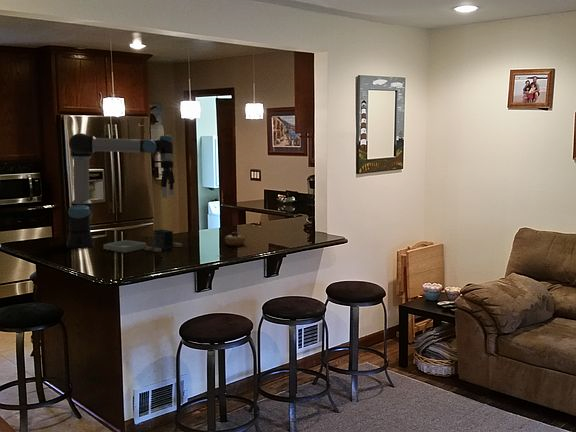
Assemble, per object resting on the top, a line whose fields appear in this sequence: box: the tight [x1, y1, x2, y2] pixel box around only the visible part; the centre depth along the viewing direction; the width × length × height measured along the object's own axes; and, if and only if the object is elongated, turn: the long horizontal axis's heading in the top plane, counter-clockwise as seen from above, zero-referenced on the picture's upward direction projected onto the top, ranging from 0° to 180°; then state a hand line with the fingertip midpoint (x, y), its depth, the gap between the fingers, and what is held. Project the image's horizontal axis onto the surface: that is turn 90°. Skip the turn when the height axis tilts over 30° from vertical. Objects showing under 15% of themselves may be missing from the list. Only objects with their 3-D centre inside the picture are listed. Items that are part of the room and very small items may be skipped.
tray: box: [103, 239, 148, 254], centre depth 356 cm, size 17×17×3 cm
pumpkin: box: [224, 229, 246, 247], centre depth 370 cm, size 12×12×9 cm
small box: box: [153, 229, 174, 251], centre depth 358 cm, size 11×6×10 cm, turn 47°
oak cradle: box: [143, 242, 183, 253], centre depth 358 cm, size 12×18×2 cm, turn 148°
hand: (168, 196), depth 376 cm, fingers open, 13 cm apart
